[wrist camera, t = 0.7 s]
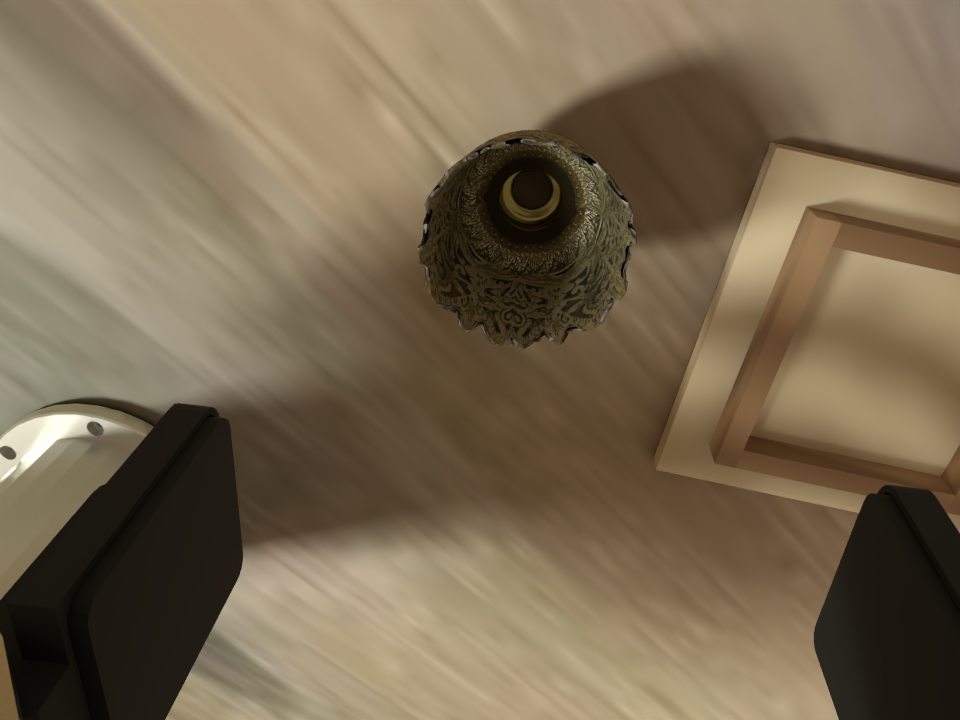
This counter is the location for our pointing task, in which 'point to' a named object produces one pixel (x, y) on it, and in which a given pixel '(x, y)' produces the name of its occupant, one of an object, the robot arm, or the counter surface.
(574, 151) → the ornate lamp shade
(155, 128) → the counter surface
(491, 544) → the counter surface
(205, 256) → the counter surface
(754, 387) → the square wooden tray
